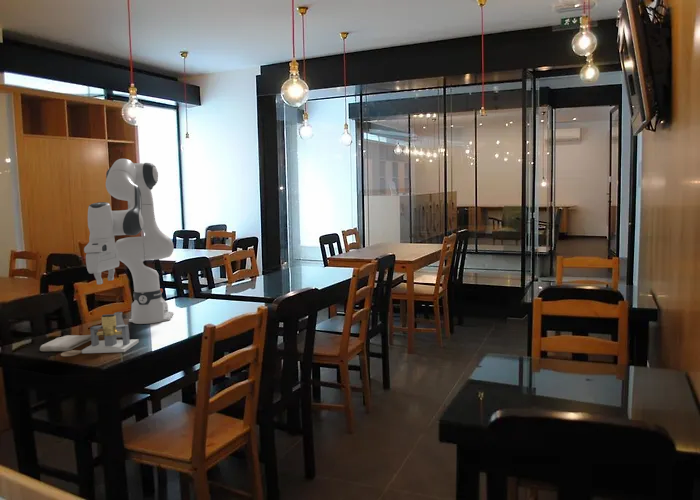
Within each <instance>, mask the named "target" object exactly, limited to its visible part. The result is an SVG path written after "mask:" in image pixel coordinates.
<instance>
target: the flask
mask: <svg viewBox="0 0 700 500" xmlns="http://www.w3.org/2000/svg"><path fill="white" fill-rule="evenodd" d="M113 314H115V315H116V326H118V325H126V324H125V322H124V318H123V312H122V311H117V312H114V313H113ZM117 331H122V329H117ZM129 336H130V333H129ZM120 338H121V339H123V338H122V334H121V335H116V339H120Z"/></svg>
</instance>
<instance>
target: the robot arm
mask: <svg viewBox="0 0 700 500" xmlns="http://www.w3.org/2000/svg"><path fill="white" fill-rule="evenodd" d="M105 177H106V180H105V189H106V191H107V193H108V194H109V195H110V196H111V197H113V198H114V199H116V200H119V201H120V200H121V201H126V202H127V209H121V210H112V206H111V204H110V203H109V202H103V201H102V202H101V201H100V202H99V201H98V202H94V203H91V204H89V205H88V209H87V227H88V231H89V237H88V238H89V239H88V240H89V242H88V243H87V244H86V245H85V246H84V248H83V252H84V253H85V264H86V269H87V272H88V274H91V275H92V274H93V276H94V278H95V281H96V285H102V284H104V279H103V278H102V272H103V273H104V272H105V271H108V275H107V281H108V282H109V281H114V279H115V276H114V275H115V272H116V270H115V269H116V268H119V267H120V262H121V263H123V264H124V265H125V266H126V267H127V269H129V271H130V273H131V277H132V281H133V290H134V291H133V300H134V301H133V302H131V318H129V319H128V322H129V323H133V324H136V325H137V324H138V325H143V324H144V325H145V324H146V325H148V324H154V323H155V324H157V323H160V322H167V321H170V320H171V319H172V317H173V315H174V312H173V311H169V305H168V302H167V301H166V300H165V298H164V297H163V295H162V293H164V291H163V288H160V287H161V286H160V275H159V273H158V271H157V270H156V269H153V268H152V267H149V266H147V265H145V263H144V262H145V261H156V260H162V259H166V258H170V257H171V256H172V254H173V252H174V249H175V248H174V242H173V241H172V239H171V238H170V237H169V236H168V235H166V234H164V233H163V231H162V230H161V229H160V228H159V226H158V224H157V222H156V221H157V220H156V216H155V208H154V199H153V194H152V190H153V188H154V187H155V186H156V184H157V183H158V182H159V181H158V179H159V172H158V169H157V167H156V166H155V164H153V163H151V162H144V163H142V162H141V163H140V162H139V163H138V162H137V163H135V162H133V161H132V160H130V159H127V158H119V159H117V160H115V161H114V162H113V164H111V167H109V168H108V169H107V171H106V173H105ZM141 232H143V233H144V235H143V236H138V234H139V233H141ZM116 236H129V237H124V238H119V239H118V240H116V239H115V237H116Z"/></svg>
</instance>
